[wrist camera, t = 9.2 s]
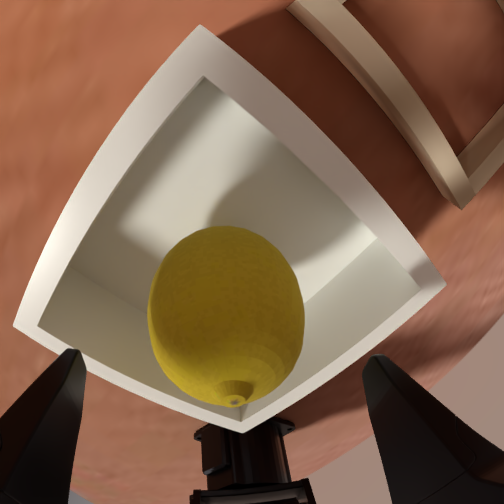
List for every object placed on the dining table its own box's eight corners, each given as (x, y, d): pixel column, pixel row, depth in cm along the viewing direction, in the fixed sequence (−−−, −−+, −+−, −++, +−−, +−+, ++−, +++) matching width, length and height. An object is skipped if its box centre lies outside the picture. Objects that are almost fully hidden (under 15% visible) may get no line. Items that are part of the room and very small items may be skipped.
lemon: (253, 308, 17) (279, 448, 10) (149, 281, 15) (123, 428, 9) (300, 218, 15) (371, 353, 8) (181, 177, 13) (151, 309, 6)
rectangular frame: (543, 75, 11) (563, 81, 10) (442, 196, 15) (461, 210, 14) (437, -93, 6) (456, -101, 5) (285, 8, 10) (296, 0, 9)
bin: (396, 229, 16) (446, 284, 12) (235, 367, 20) (242, 433, 16) (204, 42, 11) (199, 24, 6) (51, 261, 15) (12, 325, 11)
